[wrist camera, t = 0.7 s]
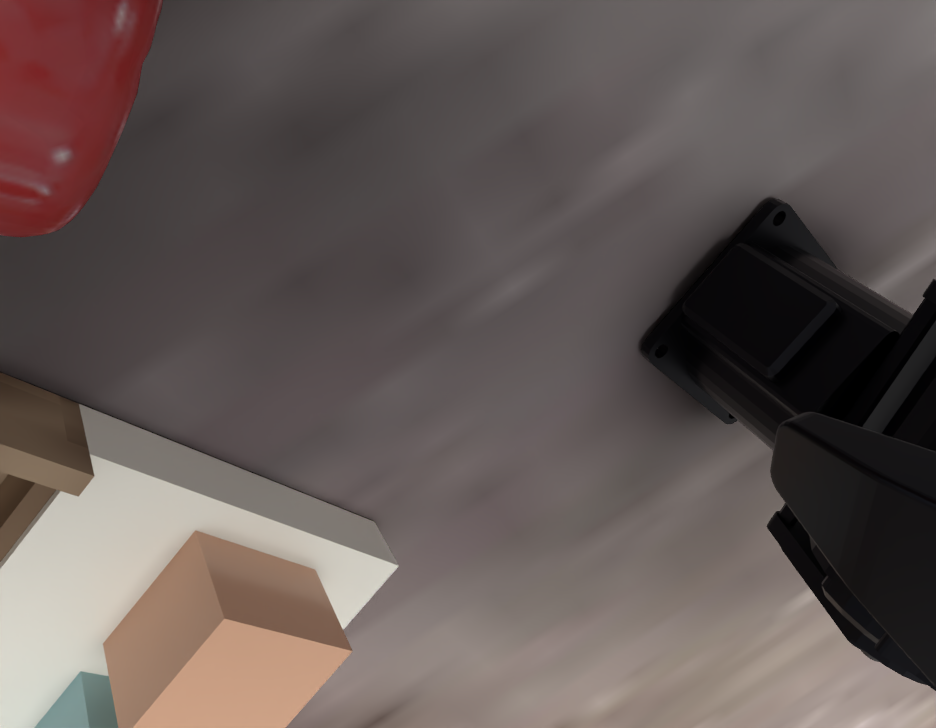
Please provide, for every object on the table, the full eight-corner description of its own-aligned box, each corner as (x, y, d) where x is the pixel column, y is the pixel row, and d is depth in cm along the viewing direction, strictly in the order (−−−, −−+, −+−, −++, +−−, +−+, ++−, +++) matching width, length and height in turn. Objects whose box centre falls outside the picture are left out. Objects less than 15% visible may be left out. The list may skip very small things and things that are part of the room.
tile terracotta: (315, 569, 25) (352, 651, 22) (229, 670, 25) (257, 759, 23) (195, 530, 22) (224, 619, 20) (102, 643, 23) (120, 741, 20)
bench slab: (374, 522, 28) (399, 565, 26) (167, 762, 29) (180, 816, 28) (78, 404, 21) (89, 454, 19) (-167, 724, 23) (-174, 793, 21)
